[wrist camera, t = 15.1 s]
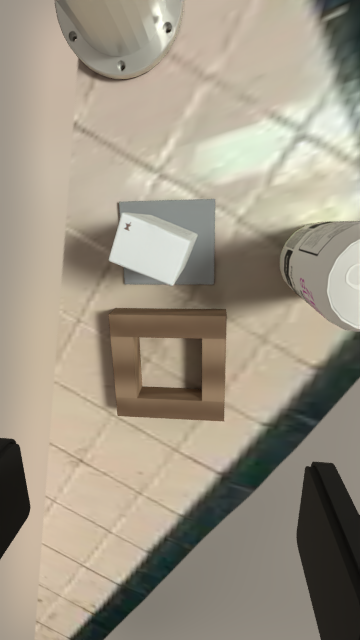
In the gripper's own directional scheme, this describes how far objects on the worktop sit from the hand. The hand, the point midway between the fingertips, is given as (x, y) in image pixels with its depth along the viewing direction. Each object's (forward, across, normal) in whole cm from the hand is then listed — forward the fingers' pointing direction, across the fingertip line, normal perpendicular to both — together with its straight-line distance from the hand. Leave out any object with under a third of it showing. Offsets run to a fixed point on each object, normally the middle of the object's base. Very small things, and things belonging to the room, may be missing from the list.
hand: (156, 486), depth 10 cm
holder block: (+30, +4, +9) cm, 31 cm away
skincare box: (+30, +4, -6) cm, 30 cm away
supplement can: (+30, -13, -4) cm, 33 cm away
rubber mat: (+30, +4, -6) cm, 31 cm away
